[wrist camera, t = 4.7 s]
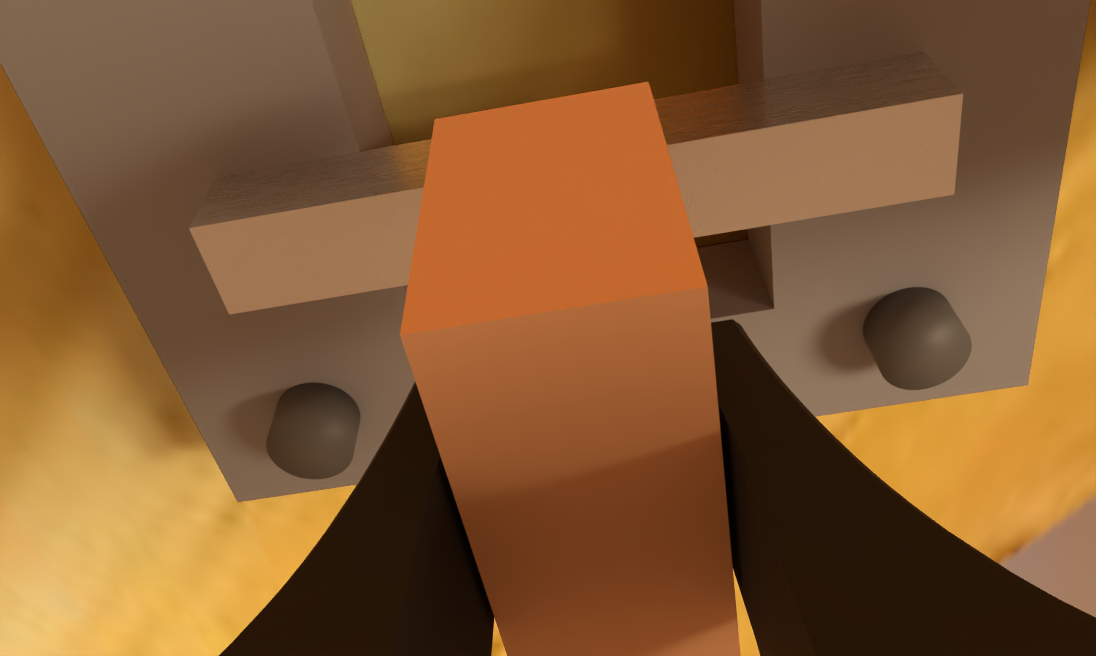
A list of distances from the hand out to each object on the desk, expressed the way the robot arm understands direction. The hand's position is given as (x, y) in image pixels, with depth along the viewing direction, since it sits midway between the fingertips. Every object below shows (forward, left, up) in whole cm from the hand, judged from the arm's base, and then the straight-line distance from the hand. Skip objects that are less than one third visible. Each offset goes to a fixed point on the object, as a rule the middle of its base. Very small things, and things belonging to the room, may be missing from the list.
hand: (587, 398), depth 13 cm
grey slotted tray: (0, 0, -10) cm, 10 cm away
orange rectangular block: (0, 0, -2) cm, 3 cm away
